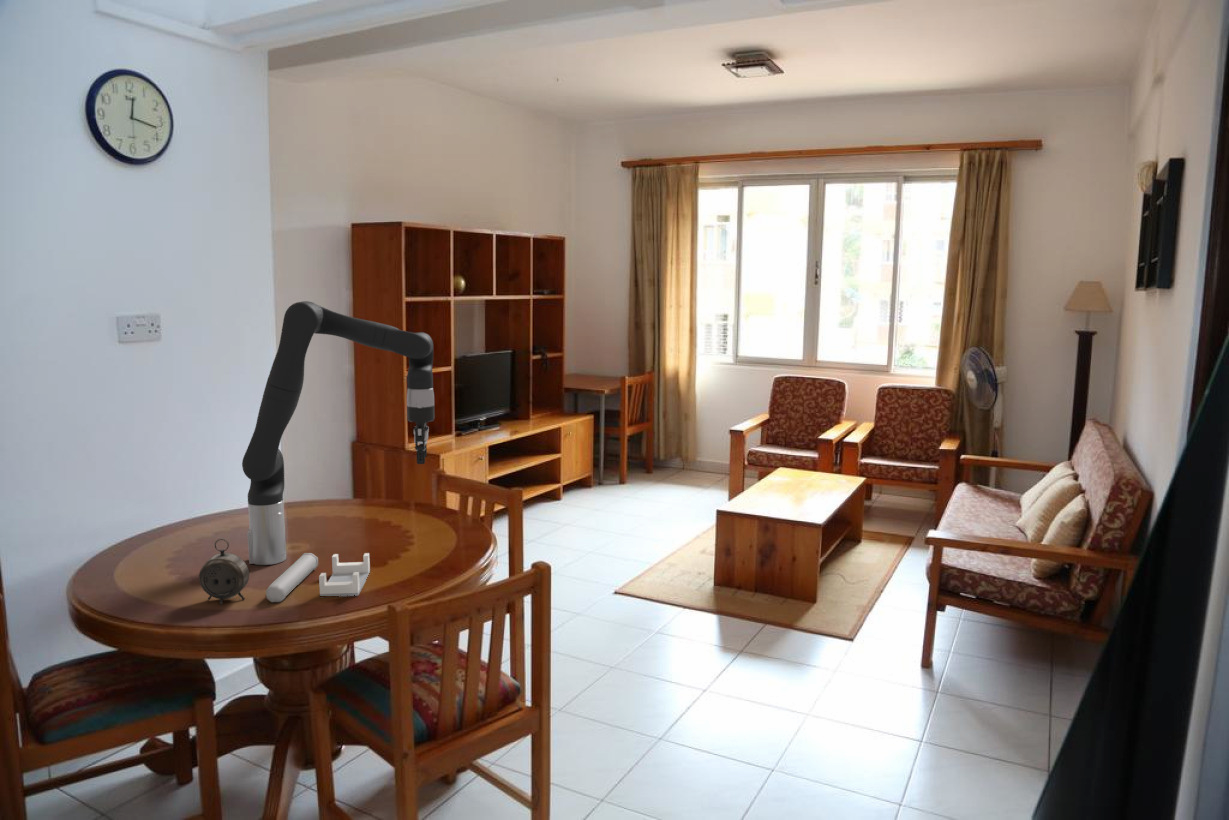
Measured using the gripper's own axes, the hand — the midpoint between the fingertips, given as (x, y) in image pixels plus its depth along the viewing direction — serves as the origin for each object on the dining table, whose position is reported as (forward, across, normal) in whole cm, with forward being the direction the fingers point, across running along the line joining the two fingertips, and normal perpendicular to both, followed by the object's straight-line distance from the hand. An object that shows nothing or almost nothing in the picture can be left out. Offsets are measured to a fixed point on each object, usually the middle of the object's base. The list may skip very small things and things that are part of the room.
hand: (421, 460), depth 247 cm
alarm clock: (+29, +28, -47) cm, 62 cm away
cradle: (+28, +20, -19) cm, 40 cm away
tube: (+29, +19, -32) cm, 48 cm away
